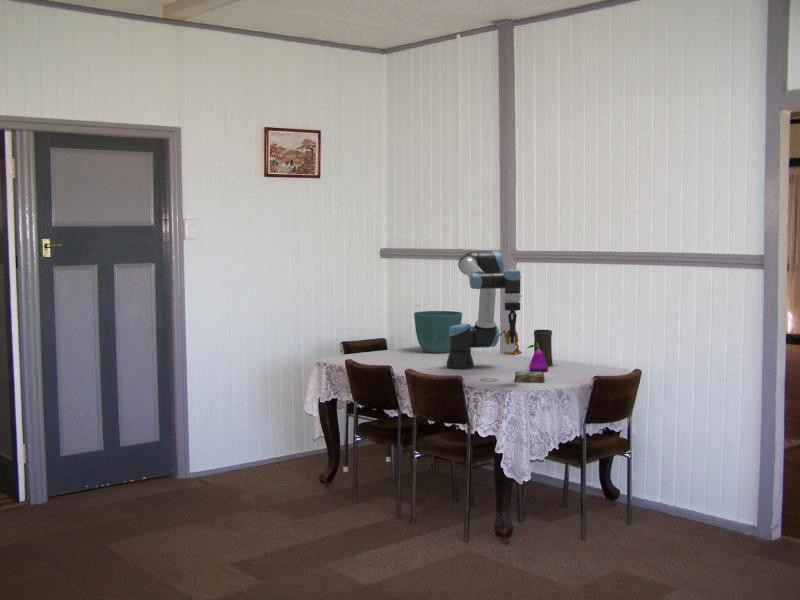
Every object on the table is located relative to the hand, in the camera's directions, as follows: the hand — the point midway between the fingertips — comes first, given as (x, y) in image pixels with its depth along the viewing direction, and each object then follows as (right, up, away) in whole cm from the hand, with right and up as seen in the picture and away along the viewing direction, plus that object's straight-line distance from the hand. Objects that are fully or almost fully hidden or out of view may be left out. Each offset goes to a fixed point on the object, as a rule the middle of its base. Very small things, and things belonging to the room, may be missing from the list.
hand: (512, 348), depth 432 cm
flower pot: (-30, -9, +127) cm, 131 cm away
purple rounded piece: (+19, -14, +44) cm, 50 cm away
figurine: (0, -3, +2) cm, 3 cm away
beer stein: (+25, -13, +65) cm, 71 cm away
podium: (+10, -16, +13) cm, 23 cm away
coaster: (-10, -17, +13) cm, 24 cm away
